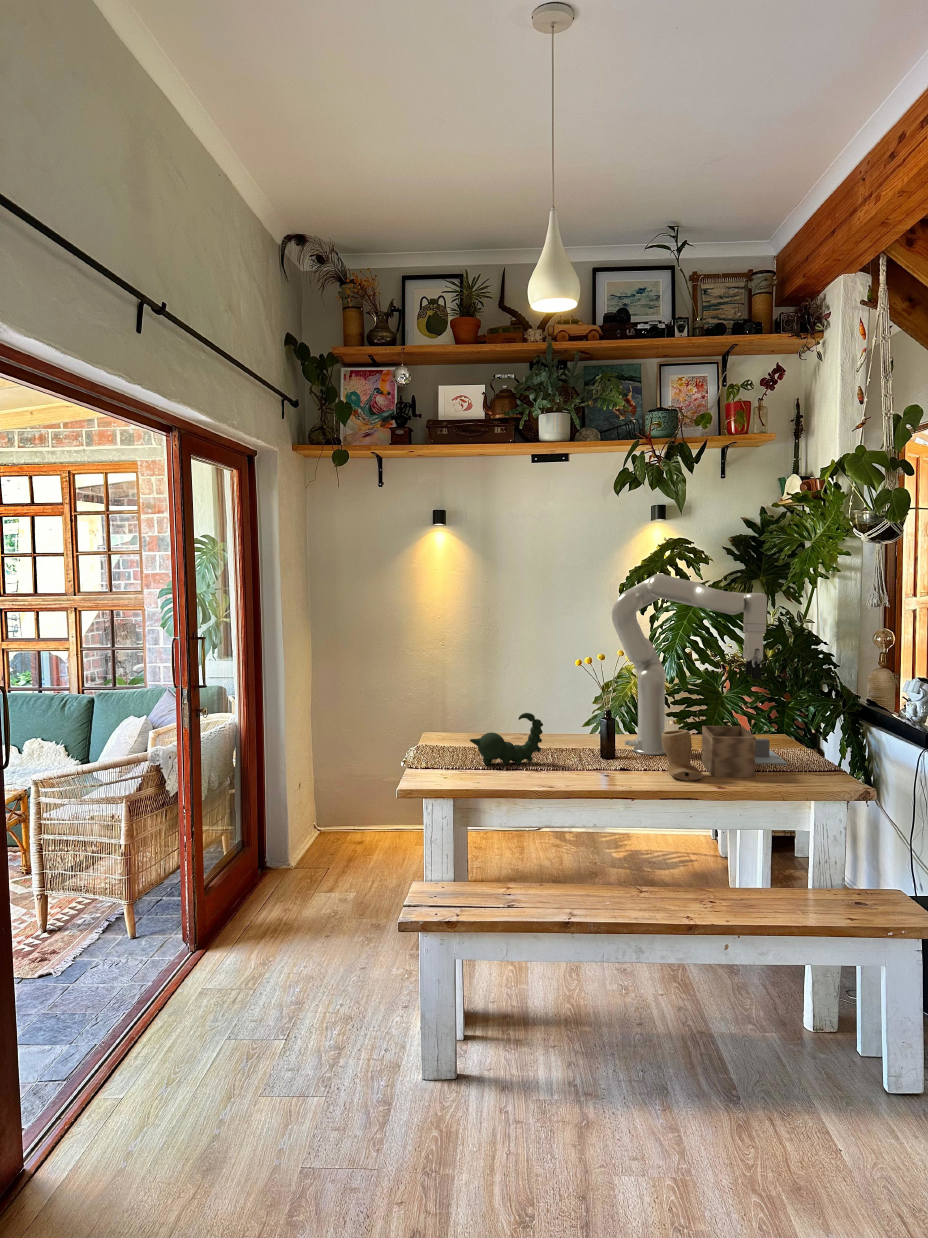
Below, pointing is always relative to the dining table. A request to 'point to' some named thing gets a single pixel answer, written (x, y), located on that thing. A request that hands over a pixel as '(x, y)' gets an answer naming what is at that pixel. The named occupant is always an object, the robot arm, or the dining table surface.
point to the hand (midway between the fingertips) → (753, 676)
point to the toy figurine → (510, 744)
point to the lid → (766, 753)
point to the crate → (728, 751)
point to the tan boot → (679, 755)
